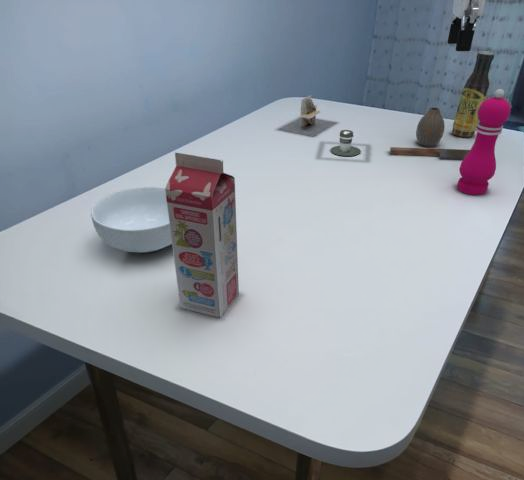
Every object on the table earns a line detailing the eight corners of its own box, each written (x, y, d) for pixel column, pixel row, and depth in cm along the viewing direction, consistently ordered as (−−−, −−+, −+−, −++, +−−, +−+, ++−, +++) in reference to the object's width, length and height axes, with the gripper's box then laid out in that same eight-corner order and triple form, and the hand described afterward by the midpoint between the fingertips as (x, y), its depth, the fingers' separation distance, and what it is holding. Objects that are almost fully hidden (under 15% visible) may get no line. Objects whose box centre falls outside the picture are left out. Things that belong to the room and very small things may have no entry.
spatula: (472, 152, 126) (473, 147, 125) (477, 160, 121) (478, 155, 121) (388, 149, 128) (389, 144, 127) (390, 157, 123) (391, 152, 122)
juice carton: (201, 285, 79) (187, 144, 65) (238, 294, 77) (233, 151, 63) (180, 307, 75) (161, 161, 60) (220, 318, 73) (209, 169, 58)
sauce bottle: (446, 134, 137) (466, 51, 124) (458, 129, 140) (478, 48, 127) (468, 140, 133) (490, 55, 120) (479, 135, 136) (503, 52, 123)
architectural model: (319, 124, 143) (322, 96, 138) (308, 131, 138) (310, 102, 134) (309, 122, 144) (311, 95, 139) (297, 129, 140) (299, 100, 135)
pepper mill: (491, 197, 105) (524, 94, 92) (456, 194, 106) (484, 92, 93) (486, 184, 111) (516, 85, 97) (452, 181, 111) (478, 83, 98)
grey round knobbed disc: (368, 145, 130) (371, 125, 127) (367, 161, 121) (370, 140, 118) (322, 142, 131) (324, 122, 128) (318, 158, 123) (320, 137, 119)
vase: (417, 138, 134) (424, 103, 128) (442, 142, 132) (451, 106, 126) (411, 146, 129) (418, 110, 124) (437, 150, 127) (446, 113, 121)
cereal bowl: (93, 230, 93) (84, 194, 89) (178, 215, 98) (174, 180, 94) (106, 274, 82) (97, 235, 77) (203, 255, 86) (200, 218, 82)
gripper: (507, -46, 98) (483, 54, 109) (485, -48, 111) (466, 41, 122) (468, -45, 98) (448, 54, 110) (451, -48, 112) (435, 41, 123)
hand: (458, 47), depth 116 cm, fingers open, 9 cm apart
